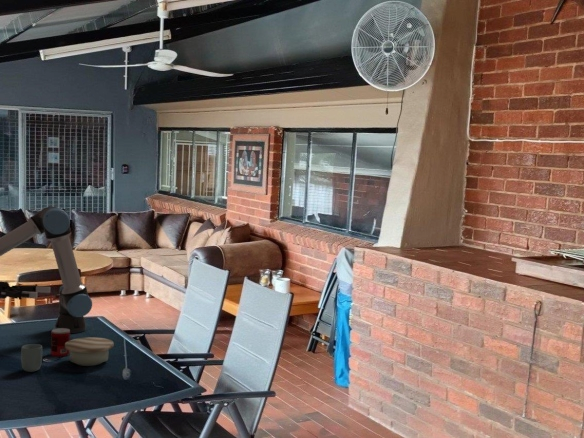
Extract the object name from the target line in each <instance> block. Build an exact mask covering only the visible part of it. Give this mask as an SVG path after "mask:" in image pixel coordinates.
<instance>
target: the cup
mask: <svg viewBox="0 0 584 438" xmlns="http://www.w3.org/2000/svg"><path fill="white" fill-rule="evenodd" d="M20 351H21V352H20V353H21V354H20V355H21V356H20V359H21V360H20V361H21V366H22V369H23V371H25V372H27V373H28V372H29V373H33V372H37V371H38V370H40V368H41V366H42V362H43V345H42V344H40V343H30V344H23V345H22V346H21V349H20Z"/></svg>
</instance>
